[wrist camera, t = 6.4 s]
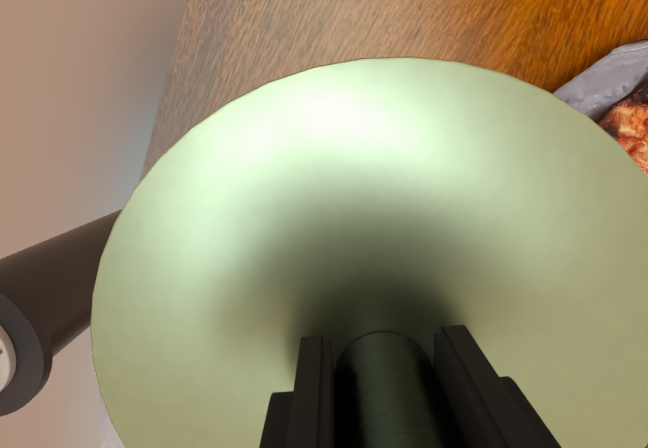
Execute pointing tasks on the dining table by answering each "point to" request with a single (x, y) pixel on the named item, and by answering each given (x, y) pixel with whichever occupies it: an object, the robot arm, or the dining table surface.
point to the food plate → (616, 97)
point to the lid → (378, 261)
